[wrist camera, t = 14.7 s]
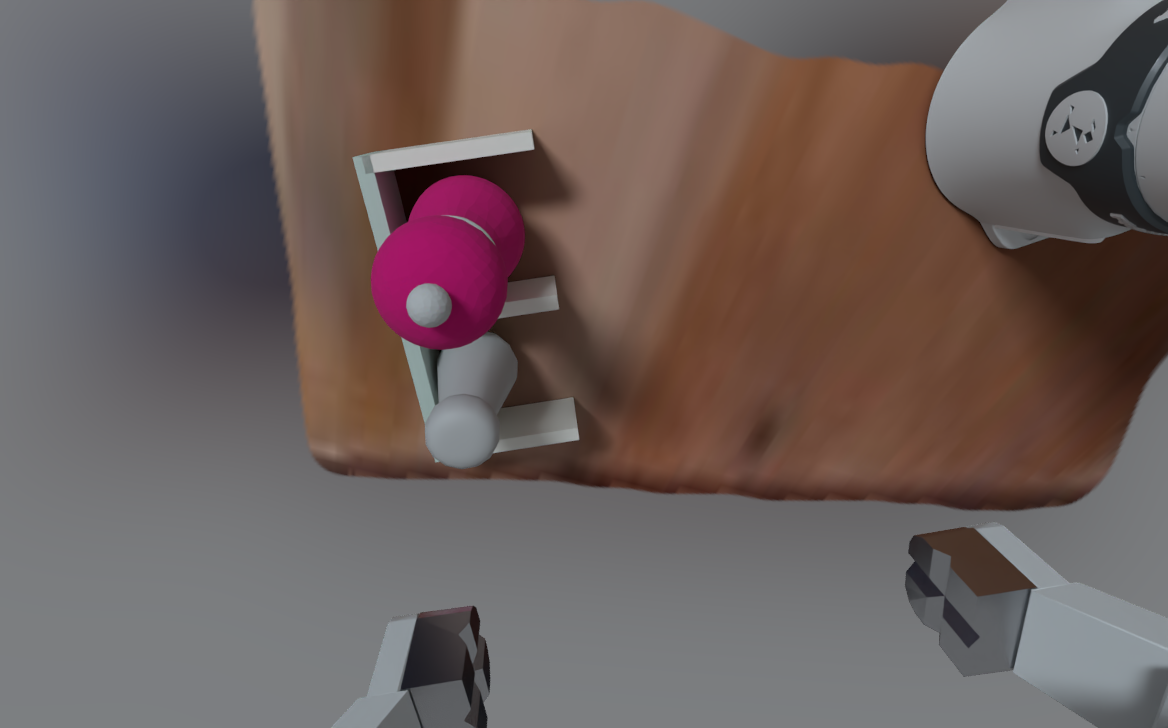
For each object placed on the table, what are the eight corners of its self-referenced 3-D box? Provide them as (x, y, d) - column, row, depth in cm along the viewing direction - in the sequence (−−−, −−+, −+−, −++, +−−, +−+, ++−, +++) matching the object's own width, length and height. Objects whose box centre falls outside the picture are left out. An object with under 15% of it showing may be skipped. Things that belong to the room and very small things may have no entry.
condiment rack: (531, 129, 39) (531, 131, 35) (575, 408, 48) (579, 439, 43) (373, 151, 39) (352, 157, 35) (444, 428, 47) (435, 462, 43)
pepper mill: (399, 227, 41) (290, 319, 23) (465, 145, 39) (405, 175, 21) (481, 294, 43) (442, 427, 25) (547, 219, 42) (556, 304, 23)
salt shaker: (527, 331, 45) (524, 410, 33) (508, 397, 47) (500, 494, 35) (449, 311, 44) (418, 386, 32) (434, 380, 46) (399, 475, 34)
